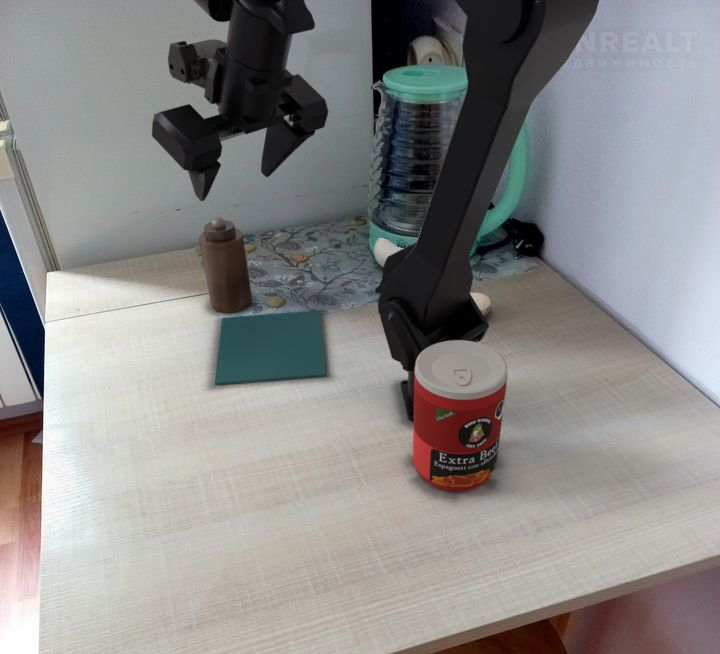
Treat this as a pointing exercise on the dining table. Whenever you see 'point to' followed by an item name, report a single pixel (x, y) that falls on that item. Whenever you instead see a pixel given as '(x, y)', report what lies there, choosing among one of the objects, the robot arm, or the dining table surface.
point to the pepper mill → (225, 266)
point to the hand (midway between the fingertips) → (233, 186)
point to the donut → (384, 250)
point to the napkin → (270, 348)
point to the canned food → (458, 413)
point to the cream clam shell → (482, 302)
